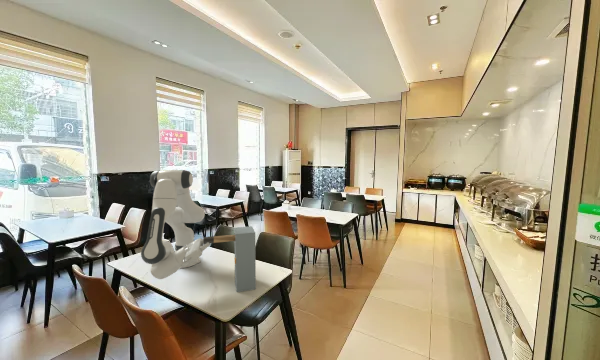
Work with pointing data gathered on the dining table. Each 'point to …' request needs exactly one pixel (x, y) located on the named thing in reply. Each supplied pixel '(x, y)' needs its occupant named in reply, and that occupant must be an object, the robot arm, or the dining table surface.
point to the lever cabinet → (245, 259)
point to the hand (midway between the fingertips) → (209, 240)
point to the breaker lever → (219, 239)
